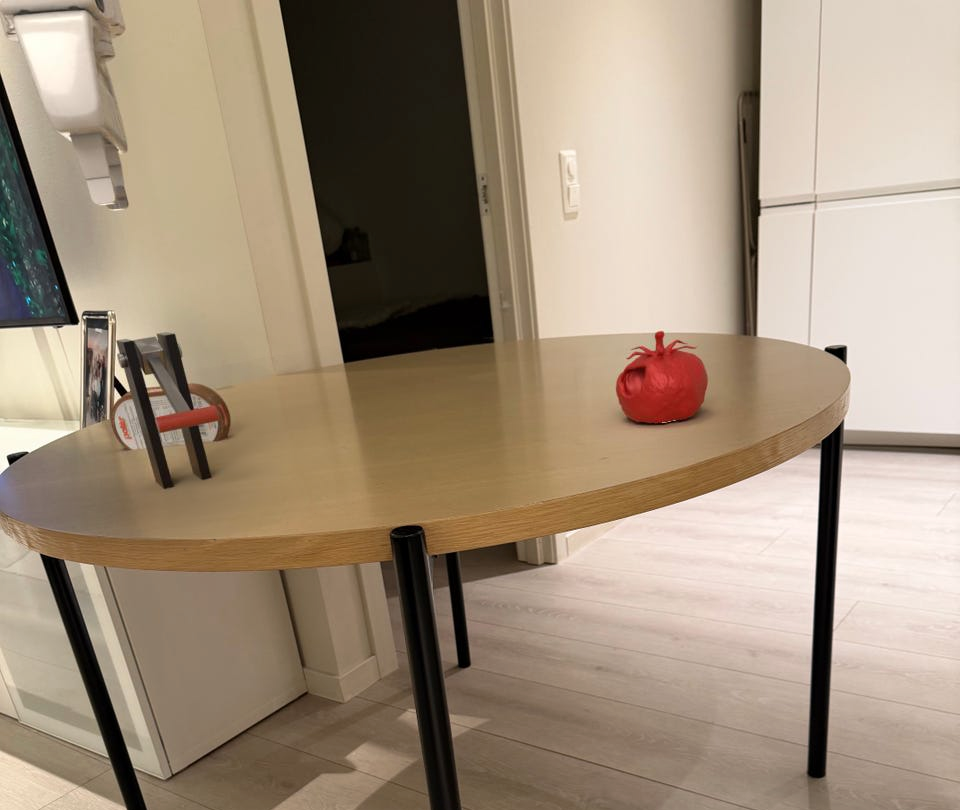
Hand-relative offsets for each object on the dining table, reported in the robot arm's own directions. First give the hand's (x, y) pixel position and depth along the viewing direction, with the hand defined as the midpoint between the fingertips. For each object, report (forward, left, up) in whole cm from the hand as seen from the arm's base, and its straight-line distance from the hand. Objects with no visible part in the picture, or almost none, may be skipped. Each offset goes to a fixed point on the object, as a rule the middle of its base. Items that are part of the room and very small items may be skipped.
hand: (112, 207), depth 74 cm
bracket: (+2, +11, -27) cm, 29 cm away
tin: (+5, +33, -27) cm, 43 cm away
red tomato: (+51, -8, -27) cm, 58 cm away
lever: (+1, +6, -16) cm, 17 cm away
